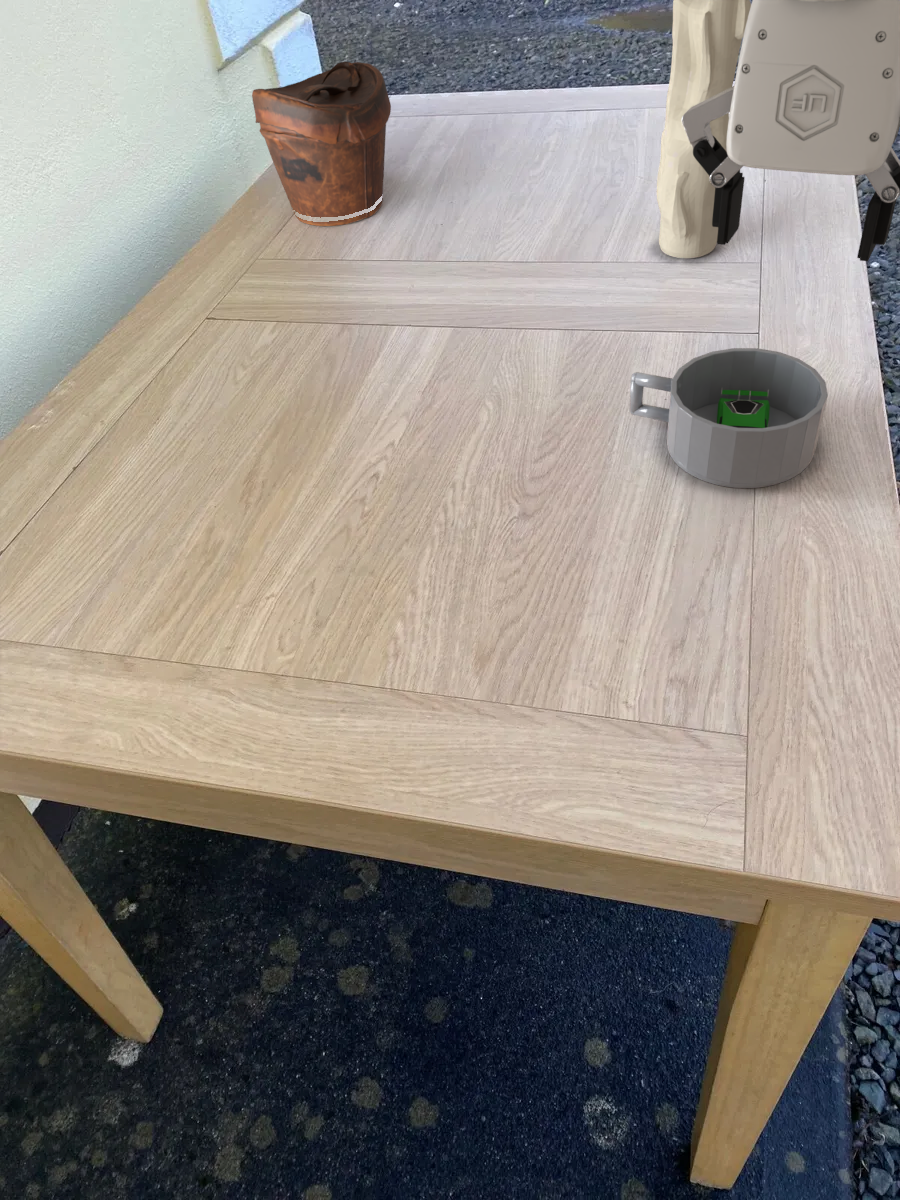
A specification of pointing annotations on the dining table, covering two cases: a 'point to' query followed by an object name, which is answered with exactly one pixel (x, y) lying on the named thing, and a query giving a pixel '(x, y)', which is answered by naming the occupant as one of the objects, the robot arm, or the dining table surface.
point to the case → (328, 140)
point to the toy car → (743, 410)
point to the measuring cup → (731, 449)
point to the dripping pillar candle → (698, 72)
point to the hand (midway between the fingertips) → (795, 244)
